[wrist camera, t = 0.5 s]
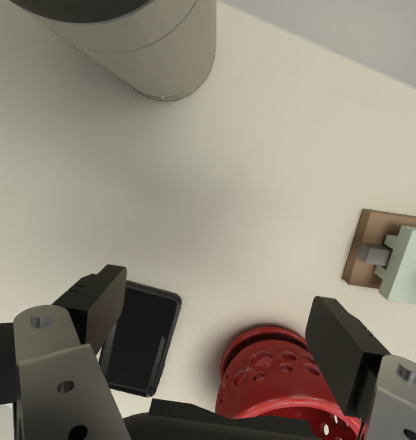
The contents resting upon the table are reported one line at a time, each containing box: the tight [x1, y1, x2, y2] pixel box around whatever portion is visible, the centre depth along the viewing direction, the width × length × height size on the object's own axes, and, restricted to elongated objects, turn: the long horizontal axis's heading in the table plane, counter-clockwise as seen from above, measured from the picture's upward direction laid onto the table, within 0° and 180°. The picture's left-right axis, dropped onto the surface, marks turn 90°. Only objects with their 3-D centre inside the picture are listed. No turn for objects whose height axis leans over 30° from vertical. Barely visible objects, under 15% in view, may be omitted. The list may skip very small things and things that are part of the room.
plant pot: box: [215, 327, 362, 440], centre depth 28 cm, size 13×13×12 cm
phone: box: [99, 280, 182, 397], centre depth 33 cm, size 8×1×15 cm
